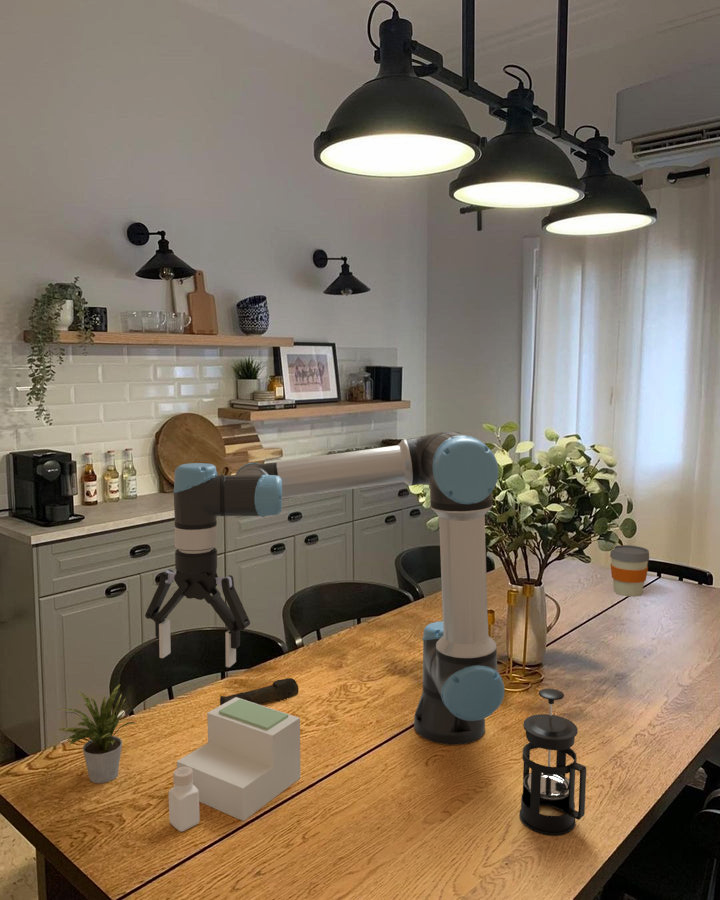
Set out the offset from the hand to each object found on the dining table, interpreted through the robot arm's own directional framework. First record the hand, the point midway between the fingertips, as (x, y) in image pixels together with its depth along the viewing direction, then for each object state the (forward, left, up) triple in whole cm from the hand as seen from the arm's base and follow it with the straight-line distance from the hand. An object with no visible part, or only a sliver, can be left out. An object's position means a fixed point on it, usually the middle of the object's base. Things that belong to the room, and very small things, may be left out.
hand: (197, 659), depth 139 cm
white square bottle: (-8, +12, -23) cm, 27 cm away
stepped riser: (-8, -2, -23) cm, 25 cm away
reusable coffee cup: (-40, -162, -23) cm, 169 cm away
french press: (-60, -23, -23) cm, 68 cm away
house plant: (+17, +9, -23) cm, 30 cm away
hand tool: (+11, -30, -24) cm, 40 cm away
